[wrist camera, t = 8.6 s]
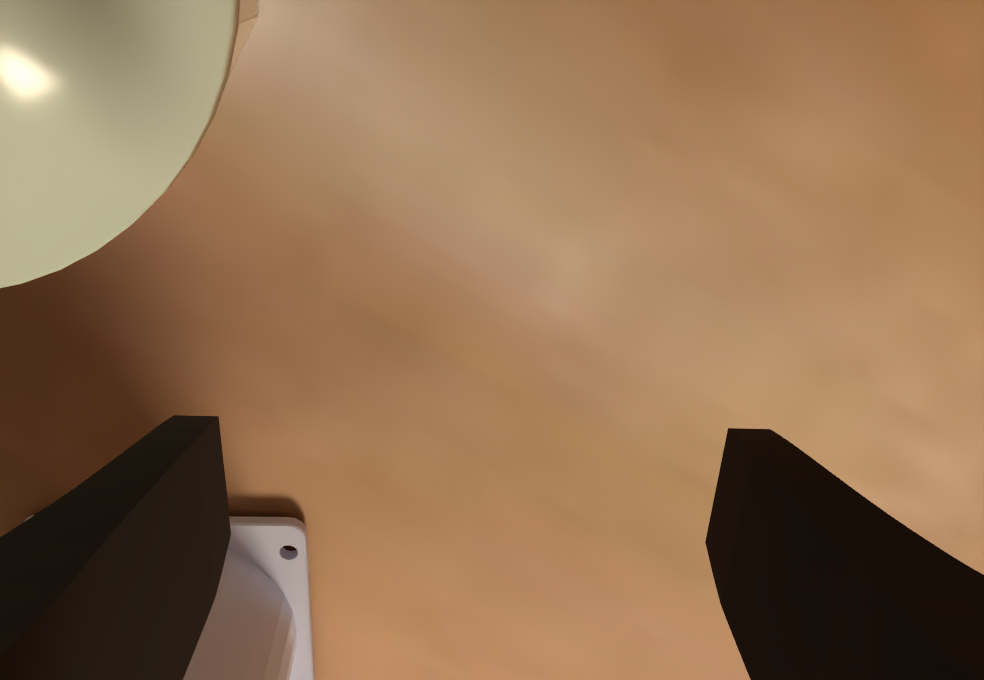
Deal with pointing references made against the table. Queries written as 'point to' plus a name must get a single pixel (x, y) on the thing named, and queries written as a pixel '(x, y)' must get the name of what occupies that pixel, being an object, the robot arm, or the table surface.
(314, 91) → the table surface
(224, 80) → the lid
